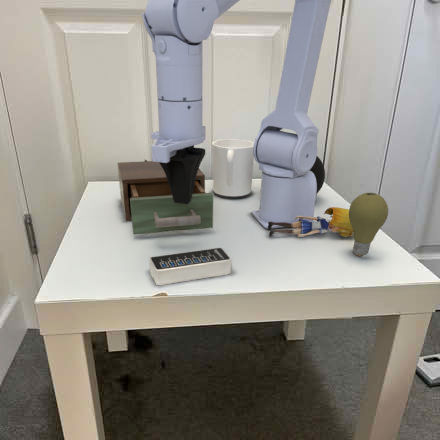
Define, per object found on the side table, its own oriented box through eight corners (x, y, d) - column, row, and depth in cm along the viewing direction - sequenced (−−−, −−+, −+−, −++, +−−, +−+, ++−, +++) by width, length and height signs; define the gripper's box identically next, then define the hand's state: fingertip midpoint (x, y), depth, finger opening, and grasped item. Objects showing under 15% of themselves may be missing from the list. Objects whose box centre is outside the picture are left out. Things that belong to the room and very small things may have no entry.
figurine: (269, 245, 76) (357, 241, 77) (272, 219, 73) (364, 216, 73) (266, 229, 80) (350, 225, 80) (268, 203, 76) (356, 200, 76)
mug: (214, 185, 101) (215, 137, 96) (254, 188, 100) (257, 139, 95) (206, 201, 92) (206, 149, 86) (250, 204, 91) (253, 151, 85)
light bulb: (358, 266, 68) (371, 201, 63) (334, 251, 72) (344, 190, 67) (386, 259, 70) (400, 196, 65) (360, 245, 74) (372, 185, 69)
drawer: (220, 238, 73) (220, 204, 70) (136, 246, 70) (133, 210, 67) (199, 207, 86) (199, 177, 83) (127, 212, 83) (125, 181, 80)
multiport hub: (149, 271, 65) (148, 256, 64) (221, 260, 68) (221, 246, 67) (156, 285, 61) (155, 270, 60) (231, 273, 65) (232, 259, 64)
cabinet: (204, 215, 85) (205, 175, 81) (125, 221, 81) (122, 179, 78) (192, 195, 94) (191, 159, 91) (121, 200, 91) (117, 162, 87)
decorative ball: (325, 208, 89) (332, 157, 84) (274, 207, 89) (278, 155, 84) (317, 193, 98) (323, 145, 93) (271, 191, 98) (274, 144, 93)
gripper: (172, 91, 65) (175, 184, 71) (125, 104, 53) (133, 215, 59) (219, 93, 63) (218, 189, 70) (181, 108, 51) (184, 222, 58)
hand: (182, 201), depth 64 cm, fingers closed
